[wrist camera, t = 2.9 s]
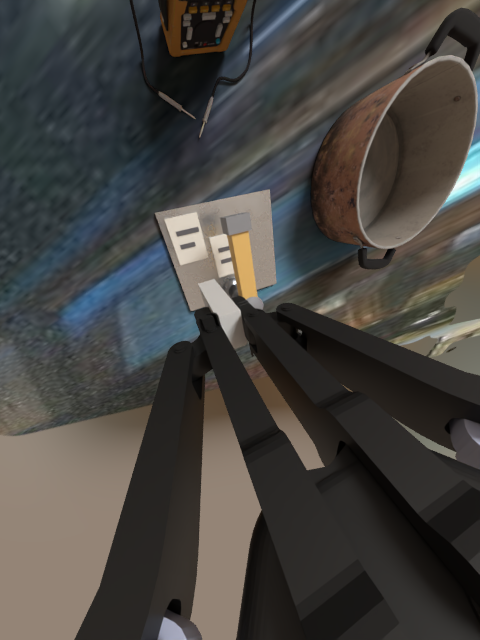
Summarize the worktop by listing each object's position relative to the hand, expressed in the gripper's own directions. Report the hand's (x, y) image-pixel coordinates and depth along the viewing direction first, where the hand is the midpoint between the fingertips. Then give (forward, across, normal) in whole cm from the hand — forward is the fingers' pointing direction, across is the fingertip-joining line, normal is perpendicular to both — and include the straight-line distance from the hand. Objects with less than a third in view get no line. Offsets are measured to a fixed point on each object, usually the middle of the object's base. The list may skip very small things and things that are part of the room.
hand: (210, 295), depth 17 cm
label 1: (+19, +1, +2) cm, 19 cm away
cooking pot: (+19, +36, +5) cm, 41 cm away
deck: (+19, +7, -2) cm, 20 cm away
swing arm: (+12, +7, -3) cm, 14 cm away
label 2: (+19, +7, -2) cm, 20 cm away
